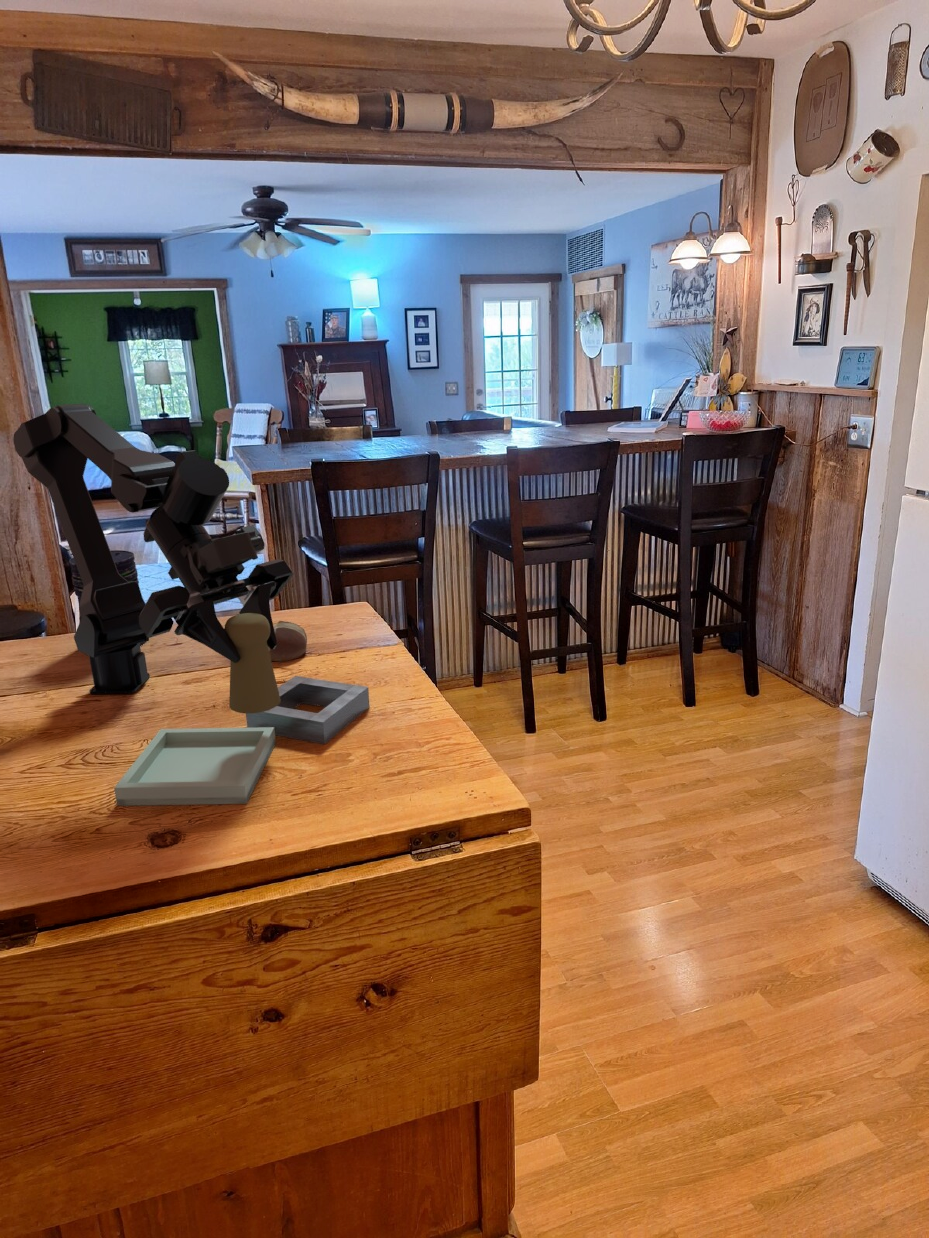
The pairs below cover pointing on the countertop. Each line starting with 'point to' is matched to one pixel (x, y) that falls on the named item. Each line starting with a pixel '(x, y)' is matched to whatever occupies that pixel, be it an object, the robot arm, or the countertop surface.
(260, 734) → the green tray
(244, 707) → the olive pepper mill
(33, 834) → the countertop surface
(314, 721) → the metal collar
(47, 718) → the countertop surface
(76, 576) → the black cylinder
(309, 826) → the countertop surface
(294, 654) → the bread
